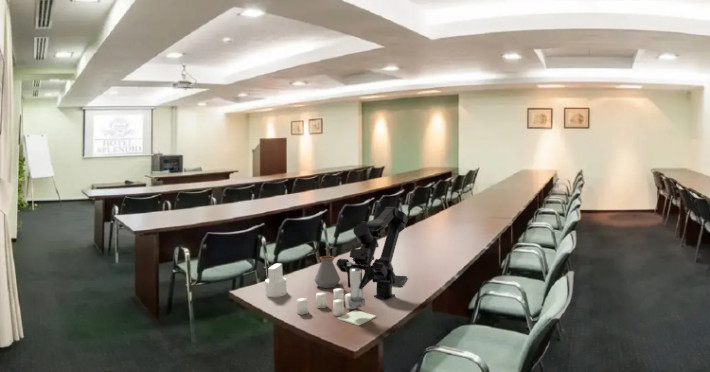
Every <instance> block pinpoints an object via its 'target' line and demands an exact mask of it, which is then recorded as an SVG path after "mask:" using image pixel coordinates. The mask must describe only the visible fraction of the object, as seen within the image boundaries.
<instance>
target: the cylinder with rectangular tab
mask: <svg viewBox="0 0 710 372" xmlns="http://www.w3.org/2000/svg"><path fill="white" fill-rule="evenodd" d="M267 272H268V273H267V275H268V277H267V278H266V279H265V280H264V282H265V283H264V285H265V296H266V297H269V298H279V297H282V296H285V295H287V294H288V290H287V286H288V285H287V278H286V277H284V276H283V263H274V264H273V265H270V267H269V268H267Z"/></svg>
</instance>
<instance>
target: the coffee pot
mask: <svg viewBox="0 0 710 372" xmlns="http://www.w3.org/2000/svg"><path fill="white" fill-rule="evenodd" d="M325 248H326V255H325V256H319V260H320V262H321V263H320V264H319V268H318V270H317V272H316V275H315V278H314V283H316V285H317V286H318V287H320V288H322V289H330V288H335V287H336V286H337V285H338V284H339V283H340V280H341V277H340V276H339V274H338V271H337V268H336V267H335V264H334V260H335V258H336V257H334V256H333V255H330V249H331V248H332V247H331V246H329V245H327V246H326V247H325Z"/></svg>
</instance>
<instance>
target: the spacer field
mask: <svg viewBox="0 0 710 372" xmlns="http://www.w3.org/2000/svg"><path fill="white" fill-rule="evenodd" d="M344 292H345V291H344V288H338V287H337V288H334V289H333V300H332V313H333V316H335V317H341V316H343V315H345V309H346V310H356V308H353V307H350V306H349V305H348V300H349V299H350V298H351V297H350V292H349V293H344ZM344 294H345V295H344ZM344 298H345V299H344ZM308 304H309V301H308V299H307V298H306V297H300V298H297V299H296V308H297V309H296V313H297V314H298V315H303V316H304V315H307V314H308V313H309V305H308ZM315 307H316V309H325V308H327V293H326V292H316V293H315Z"/></svg>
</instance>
